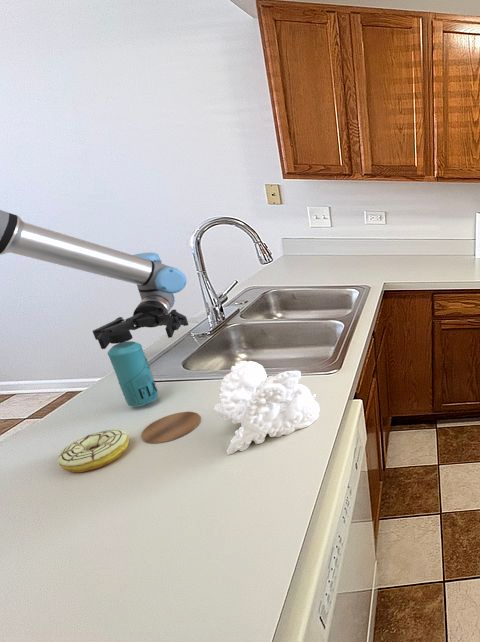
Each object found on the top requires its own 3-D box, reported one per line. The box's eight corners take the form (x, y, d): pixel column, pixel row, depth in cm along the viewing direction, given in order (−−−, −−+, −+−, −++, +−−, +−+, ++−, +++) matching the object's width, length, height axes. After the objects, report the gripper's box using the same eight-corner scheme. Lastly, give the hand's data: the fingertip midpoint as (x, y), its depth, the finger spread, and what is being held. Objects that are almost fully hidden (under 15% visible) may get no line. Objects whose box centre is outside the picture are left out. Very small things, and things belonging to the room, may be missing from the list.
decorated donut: (97, 439, 87) (91, 425, 85) (144, 441, 86) (139, 426, 85) (46, 474, 77) (39, 459, 76) (99, 476, 76) (92, 461, 75)
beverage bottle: (144, 413, 95) (116, 338, 88) (120, 410, 96) (91, 336, 89) (168, 398, 101) (144, 327, 94) (145, 396, 102) (120, 325, 95)
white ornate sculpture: (345, 376, 94) (269, 367, 77) (321, 462, 91) (237, 473, 74) (294, 361, 103) (216, 350, 86) (271, 439, 100) (186, 443, 83)
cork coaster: (128, 442, 86) (127, 440, 86) (168, 412, 96) (168, 410, 96) (175, 445, 85) (175, 443, 85) (211, 414, 95) (211, 412, 95)
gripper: (204, 315, 126) (197, 341, 109) (102, 331, 115) (77, 362, 98) (198, 293, 123) (190, 316, 106) (93, 307, 112) (65, 335, 95)
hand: (136, 338), depth 102 cm, fingers open, 13 cm apart
